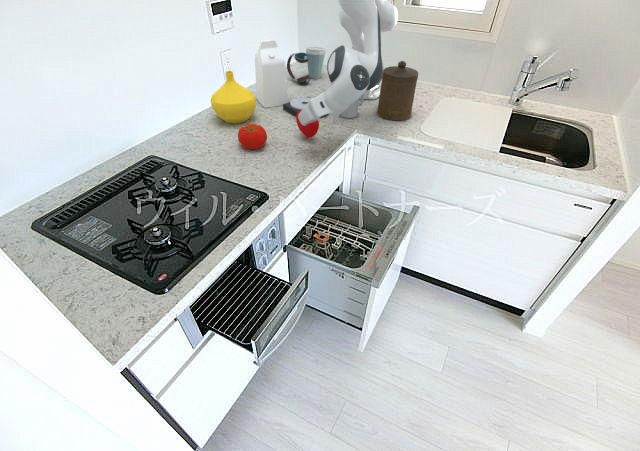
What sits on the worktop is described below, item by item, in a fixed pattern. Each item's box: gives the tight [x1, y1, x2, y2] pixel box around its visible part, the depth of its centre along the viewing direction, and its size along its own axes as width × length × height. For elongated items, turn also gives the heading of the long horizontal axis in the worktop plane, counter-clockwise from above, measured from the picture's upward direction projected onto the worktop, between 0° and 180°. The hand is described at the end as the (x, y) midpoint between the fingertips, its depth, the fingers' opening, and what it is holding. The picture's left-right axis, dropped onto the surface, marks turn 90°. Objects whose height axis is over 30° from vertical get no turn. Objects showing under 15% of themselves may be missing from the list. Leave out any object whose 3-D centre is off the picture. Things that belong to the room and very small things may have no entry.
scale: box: [282, 96, 313, 117], centre depth 152 cm, size 15×13×3 cm
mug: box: [339, 93, 365, 119], centre depth 148 cm, size 12×8×11 cm
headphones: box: [286, 52, 316, 85], centre depth 173 cm, size 6×15×22 cm
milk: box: [254, 39, 290, 109], centre depth 151 cm, size 12×12×26 cm
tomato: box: [237, 122, 268, 150], centre depth 125 cm, size 11×11×8 cm
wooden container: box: [377, 60, 419, 121], centre depth 145 cm, size 15×15×22 cm
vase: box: [210, 70, 257, 124], centre depth 139 cm, size 18×18×19 cm
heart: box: [295, 111, 320, 139], centre depth 130 cm, size 12×5×10 cm, turn 40°
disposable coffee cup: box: [305, 46, 327, 80], centre depth 181 cm, size 11×11×15 cm
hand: (314, 119), depth 125 cm, fingers open, 8 cm apart
